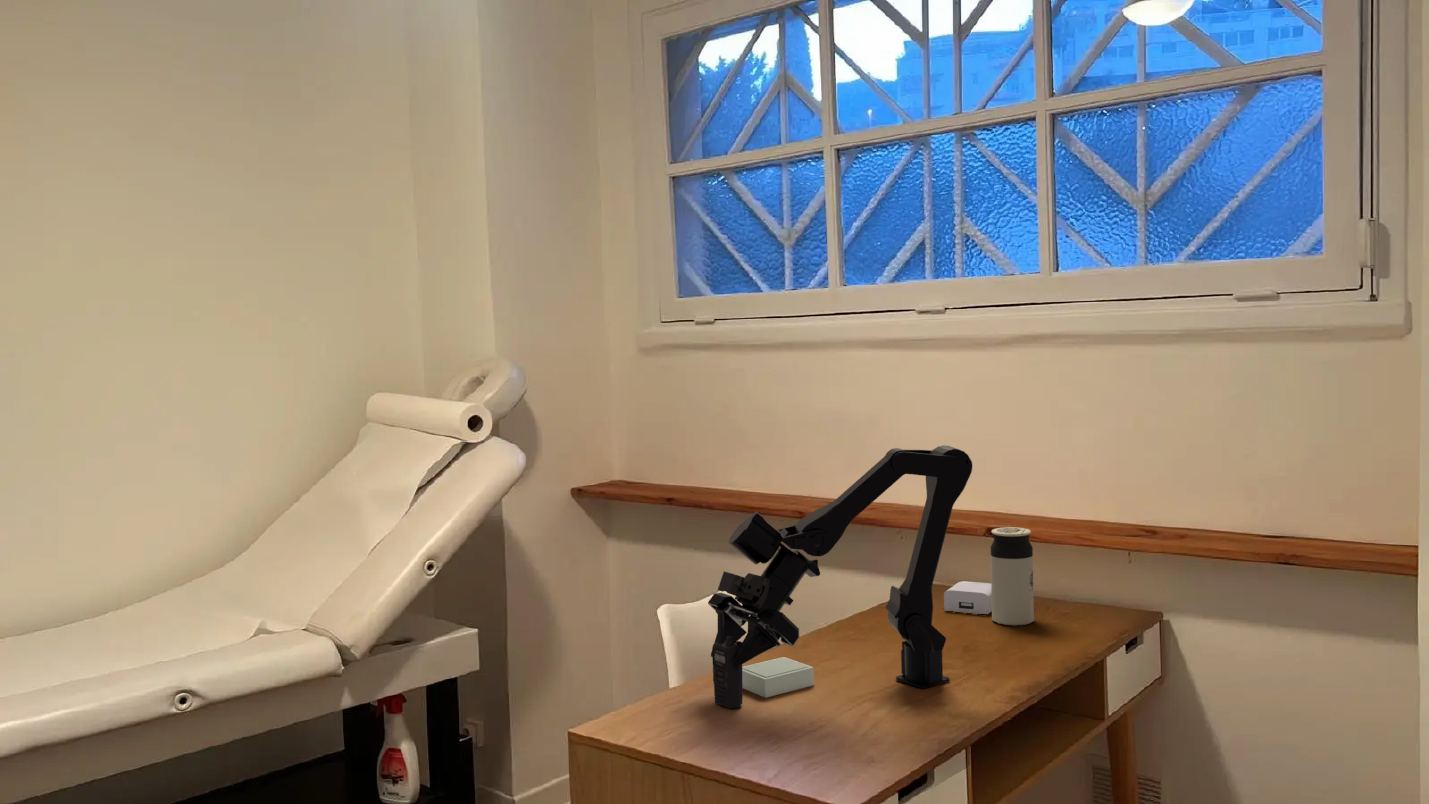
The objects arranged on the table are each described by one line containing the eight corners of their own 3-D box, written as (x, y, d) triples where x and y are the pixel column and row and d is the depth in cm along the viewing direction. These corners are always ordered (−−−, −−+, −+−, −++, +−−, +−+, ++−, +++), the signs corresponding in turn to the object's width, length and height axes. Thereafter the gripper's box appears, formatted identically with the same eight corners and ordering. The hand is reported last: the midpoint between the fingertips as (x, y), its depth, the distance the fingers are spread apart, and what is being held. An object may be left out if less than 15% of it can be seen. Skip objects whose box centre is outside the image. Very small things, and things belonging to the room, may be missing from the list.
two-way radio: (709, 703, 185) (706, 610, 184) (732, 696, 188) (728, 605, 187) (731, 711, 180) (727, 616, 179) (753, 705, 183) (750, 611, 182)
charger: (1008, 600, 246) (988, 616, 233) (965, 596, 250) (944, 612, 237) (1008, 577, 246) (988, 593, 232) (965, 574, 250) (943, 589, 237)
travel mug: (986, 623, 227) (984, 532, 225) (999, 614, 233) (997, 525, 232) (1026, 628, 222) (1025, 535, 221) (1038, 618, 229) (1037, 528, 228)
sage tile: (814, 685, 192) (813, 666, 192) (765, 697, 187) (765, 678, 186) (784, 674, 199) (784, 656, 199) (737, 685, 193) (736, 667, 193)
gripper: (715, 544, 192) (660, 620, 187) (781, 561, 177) (723, 645, 171) (756, 584, 197) (703, 659, 192) (824, 604, 181) (768, 687, 176)
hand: (722, 661), depth 183 cm, fingers closed on two-way radio, 5 cm apart
